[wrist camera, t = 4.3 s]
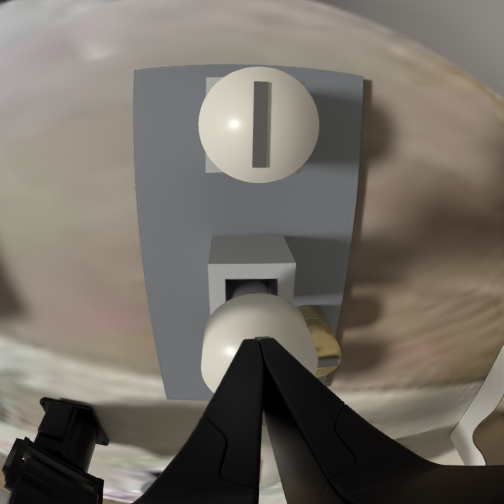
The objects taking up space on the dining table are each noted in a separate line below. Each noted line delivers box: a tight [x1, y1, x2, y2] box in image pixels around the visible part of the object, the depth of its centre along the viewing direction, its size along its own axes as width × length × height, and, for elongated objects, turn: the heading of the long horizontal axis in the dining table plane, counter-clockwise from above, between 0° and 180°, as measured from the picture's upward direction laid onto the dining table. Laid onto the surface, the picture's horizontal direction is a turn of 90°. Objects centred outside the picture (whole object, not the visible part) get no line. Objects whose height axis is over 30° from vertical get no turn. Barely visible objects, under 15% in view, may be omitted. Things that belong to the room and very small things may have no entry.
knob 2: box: [259, 414, 281, 487], centre depth 17 cm, size 4×4×6 cm
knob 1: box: [198, 67, 319, 183], centre depth 13 cm, size 4×4×6 cm
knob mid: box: [201, 280, 318, 393], centre depth 14 cm, size 4×4×6 cm
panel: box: [133, 64, 363, 401], centre depth 18 cm, size 24×13×5 cm, turn 179°
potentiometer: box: [297, 305, 342, 378], centre depth 20 cm, size 3×3×4 cm
